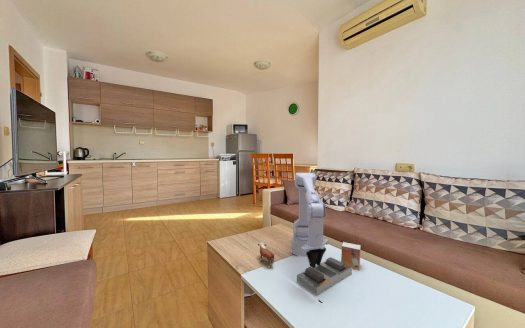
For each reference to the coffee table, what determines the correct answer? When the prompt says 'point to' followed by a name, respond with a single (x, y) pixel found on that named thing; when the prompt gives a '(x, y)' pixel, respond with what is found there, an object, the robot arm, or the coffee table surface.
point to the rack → (330, 278)
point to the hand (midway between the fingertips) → (314, 265)
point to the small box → (351, 255)
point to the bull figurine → (266, 254)
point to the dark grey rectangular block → (335, 264)
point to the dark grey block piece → (314, 275)
